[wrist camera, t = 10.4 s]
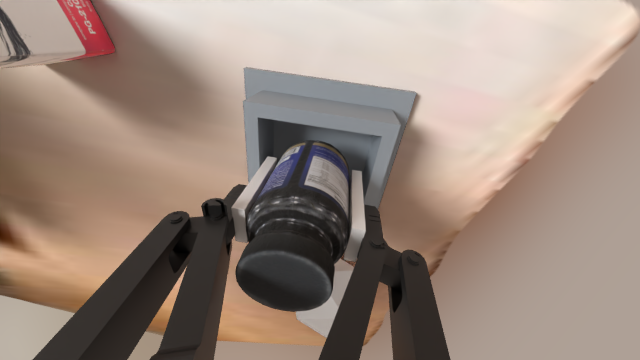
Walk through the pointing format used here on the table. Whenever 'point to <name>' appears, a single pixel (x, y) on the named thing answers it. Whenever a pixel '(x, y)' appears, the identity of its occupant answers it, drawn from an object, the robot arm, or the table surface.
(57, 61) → the ink box
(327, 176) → the pill bottle
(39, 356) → the robot arm
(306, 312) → the die
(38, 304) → the table surface
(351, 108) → the well
